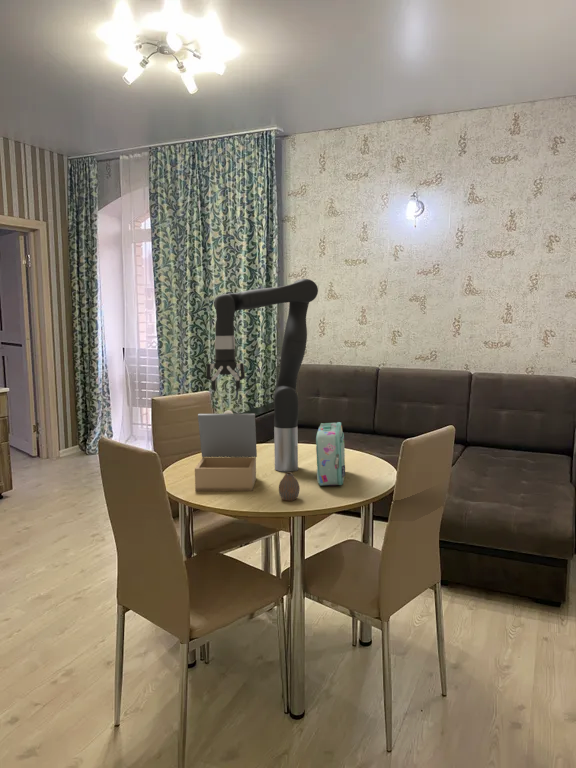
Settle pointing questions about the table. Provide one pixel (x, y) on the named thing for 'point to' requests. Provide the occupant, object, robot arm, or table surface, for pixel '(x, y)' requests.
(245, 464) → the mailer box
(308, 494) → the table surface
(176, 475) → the table surface
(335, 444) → the lunch box
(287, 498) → the vase
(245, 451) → the lid
